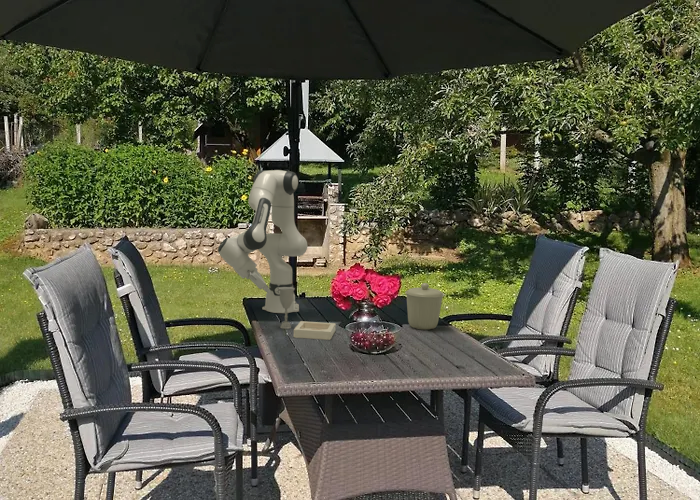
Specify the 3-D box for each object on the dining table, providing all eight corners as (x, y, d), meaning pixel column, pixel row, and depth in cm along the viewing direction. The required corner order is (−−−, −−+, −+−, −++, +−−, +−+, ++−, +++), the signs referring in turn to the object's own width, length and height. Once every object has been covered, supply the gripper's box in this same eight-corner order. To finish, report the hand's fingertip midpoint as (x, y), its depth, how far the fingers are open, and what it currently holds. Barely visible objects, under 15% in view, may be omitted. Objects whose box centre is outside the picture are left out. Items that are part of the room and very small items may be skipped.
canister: (400, 329, 316) (402, 284, 313) (406, 321, 333) (408, 278, 331) (439, 333, 312) (442, 287, 309) (444, 324, 329) (446, 281, 326)
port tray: (300, 328, 311) (300, 321, 310) (335, 331, 309) (335, 323, 309) (293, 337, 295) (293, 329, 295) (330, 339, 293) (330, 331, 293)
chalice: (295, 326, 316) (296, 287, 313) (292, 329, 309) (293, 290, 307) (279, 325, 316) (280, 286, 314) (276, 328, 310) (277, 289, 307)
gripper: (254, 267, 295) (276, 289, 299) (250, 260, 315) (271, 281, 319) (243, 277, 295) (266, 300, 298) (240, 270, 315) (261, 291, 318)
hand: (268, 290), depth 309 cm, fingers open, 8 cm apart
